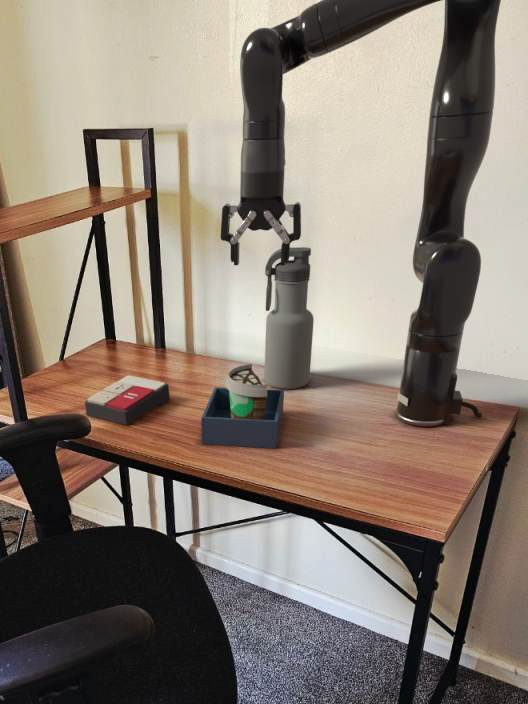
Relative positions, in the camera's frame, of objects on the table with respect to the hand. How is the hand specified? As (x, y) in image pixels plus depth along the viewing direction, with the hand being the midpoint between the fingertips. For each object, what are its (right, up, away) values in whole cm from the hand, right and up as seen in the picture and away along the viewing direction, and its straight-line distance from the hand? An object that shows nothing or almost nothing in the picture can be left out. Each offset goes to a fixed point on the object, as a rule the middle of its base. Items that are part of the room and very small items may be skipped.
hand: (259, 264), depth 131 cm
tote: (-2, -30, +5) cm, 30 cm away
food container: (-3, -29, +5) cm, 30 cm away
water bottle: (+10, -17, +25) cm, 32 cm away
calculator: (-25, -24, +18) cm, 39 cm away
